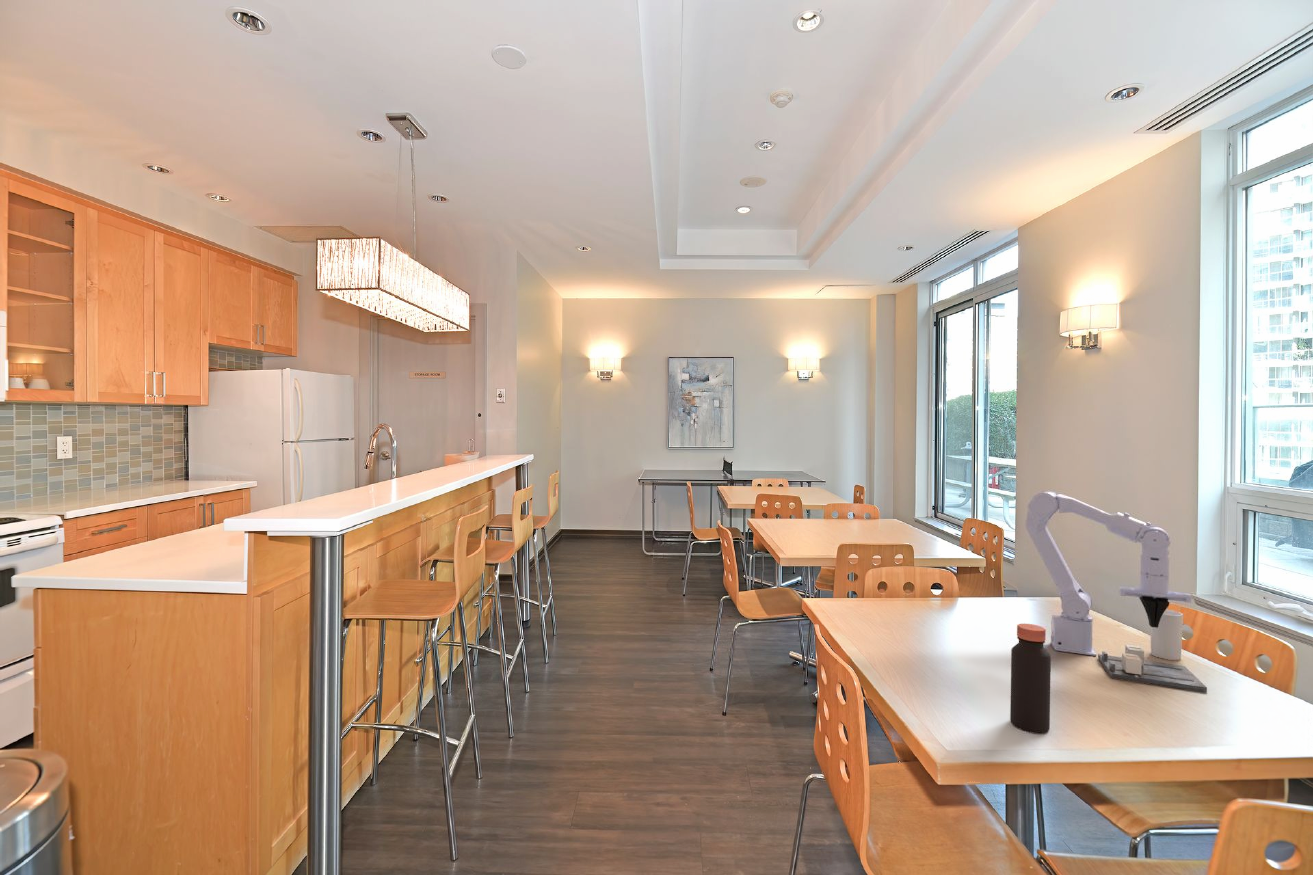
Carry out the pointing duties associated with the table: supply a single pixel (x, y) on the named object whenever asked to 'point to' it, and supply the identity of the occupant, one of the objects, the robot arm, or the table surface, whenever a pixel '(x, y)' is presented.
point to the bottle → (1030, 680)
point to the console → (1153, 674)
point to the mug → (1168, 636)
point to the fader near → (1131, 663)
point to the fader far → (1135, 651)
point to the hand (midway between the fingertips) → (1153, 626)
